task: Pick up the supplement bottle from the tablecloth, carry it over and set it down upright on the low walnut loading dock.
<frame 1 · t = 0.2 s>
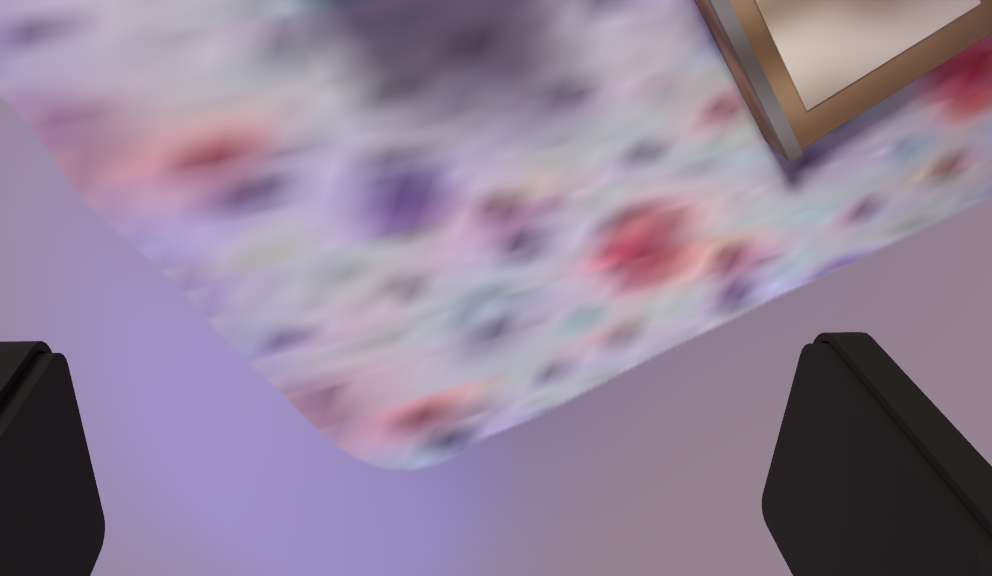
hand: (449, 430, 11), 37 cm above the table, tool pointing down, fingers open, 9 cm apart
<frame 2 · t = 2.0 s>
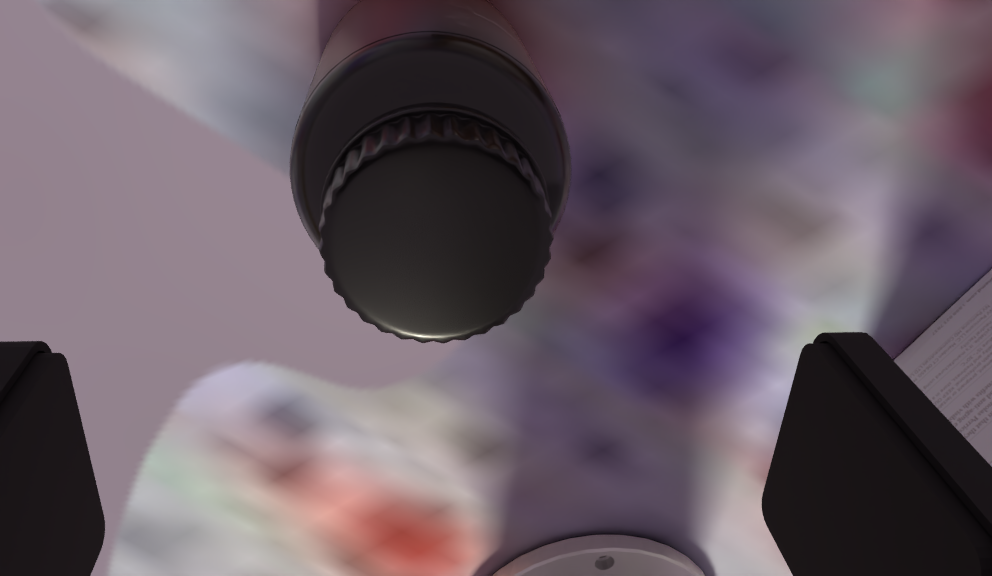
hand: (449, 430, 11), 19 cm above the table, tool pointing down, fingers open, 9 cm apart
supplement box: (985, 378, 36), on the table
supplement bottle: (425, 86, 27), on the table
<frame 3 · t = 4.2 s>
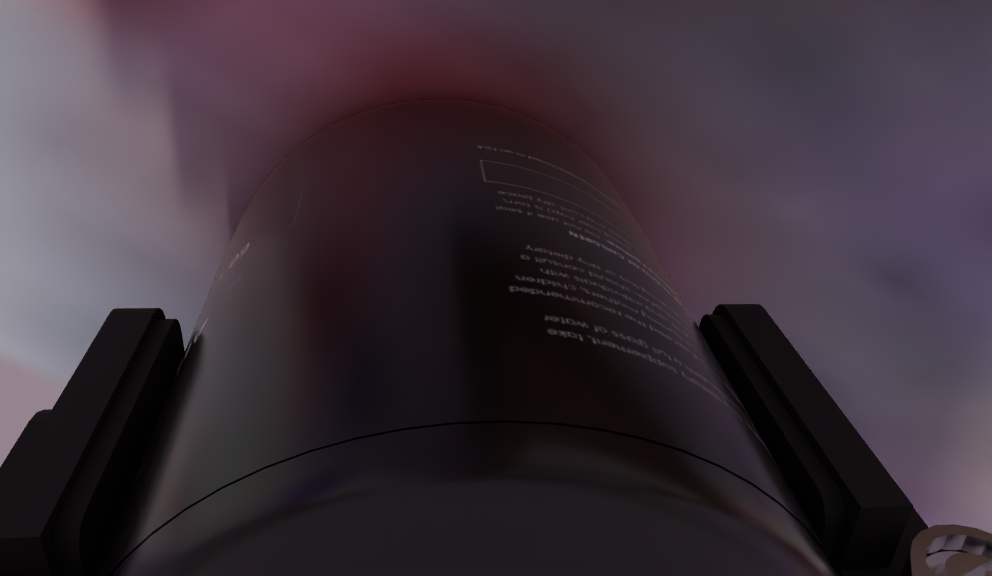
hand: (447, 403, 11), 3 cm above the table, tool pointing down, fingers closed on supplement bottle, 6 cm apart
supplement bottle: (438, 282, 14), on the table, touching gripper
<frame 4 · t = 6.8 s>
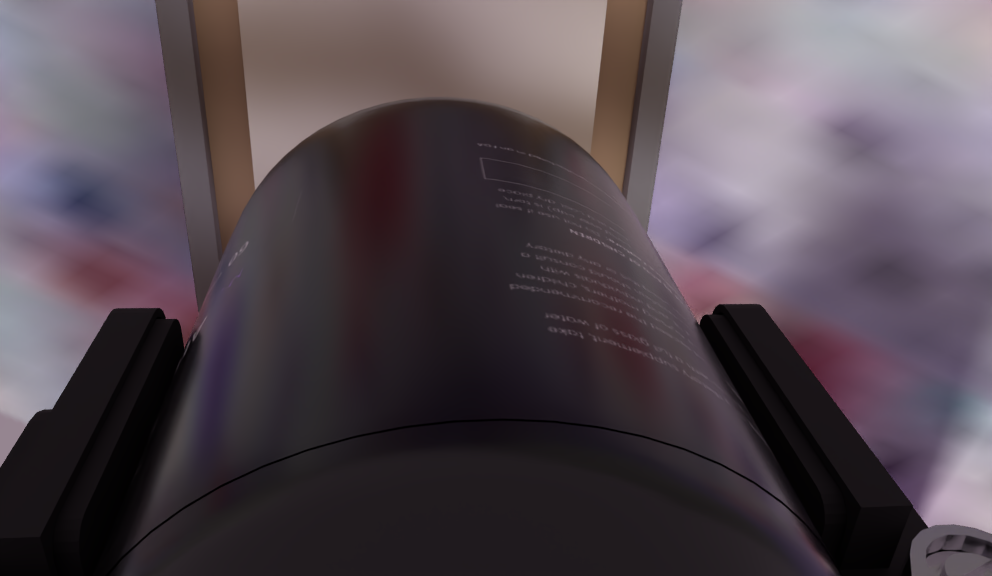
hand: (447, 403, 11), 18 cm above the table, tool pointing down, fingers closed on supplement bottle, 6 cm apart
dock: (422, 67, 27), on the table
supplement bottle: (437, 280, 14), point 14 cm above the table, touching gripper
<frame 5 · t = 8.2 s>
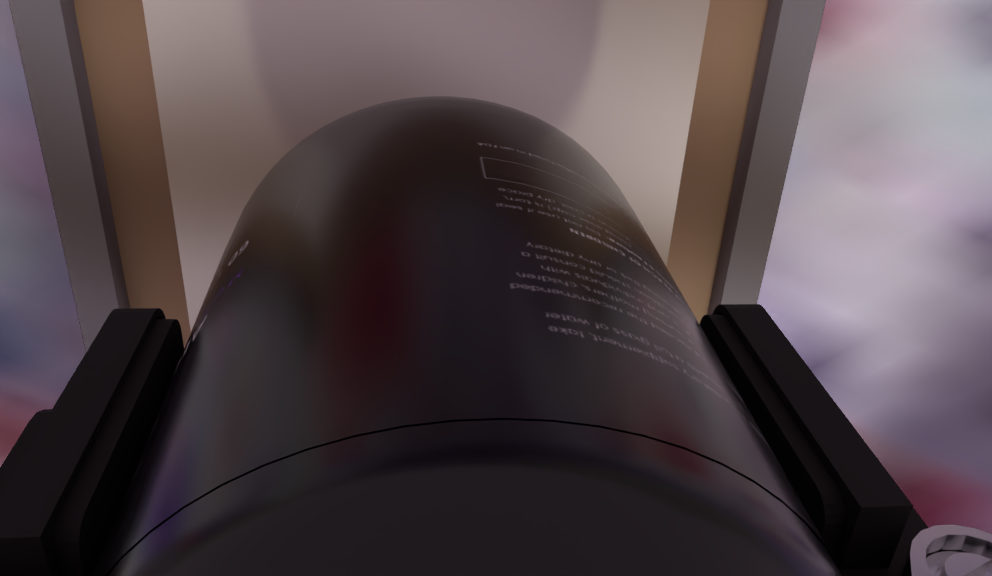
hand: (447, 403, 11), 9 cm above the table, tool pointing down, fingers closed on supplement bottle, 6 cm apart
dock: (427, 166, 19), on the table
supplement bottle: (438, 280, 14), point 6 cm above the table, touching gripper
when the fingers open (8 cm above the table, at t = 9.5 s): supplement bottle drops 1 cm, resting on dock.
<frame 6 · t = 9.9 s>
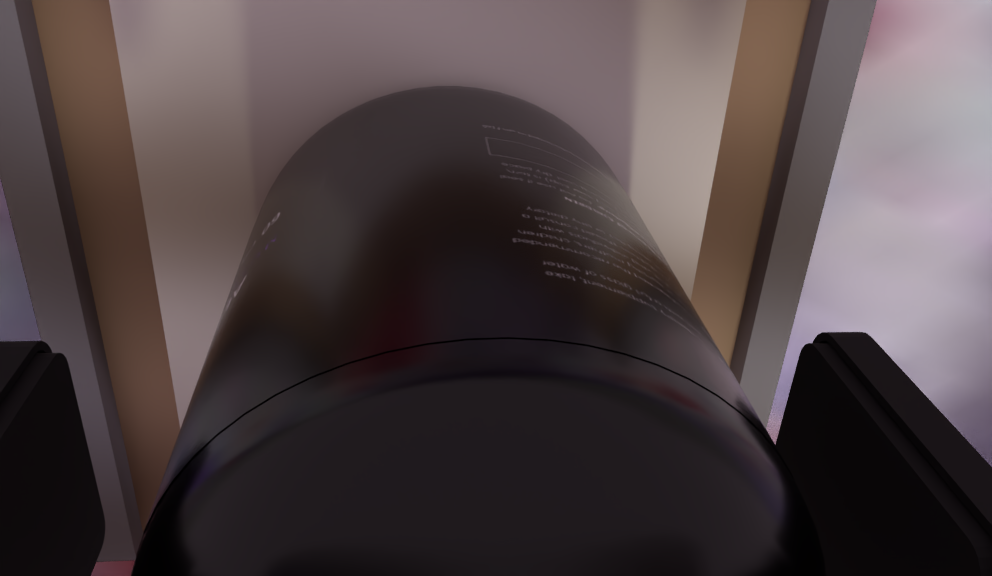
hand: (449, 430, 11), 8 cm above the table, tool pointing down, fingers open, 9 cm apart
dock: (429, 188, 18), on the table
supplement bottle: (445, 257, 15), point 3 cm above the table, touching dock
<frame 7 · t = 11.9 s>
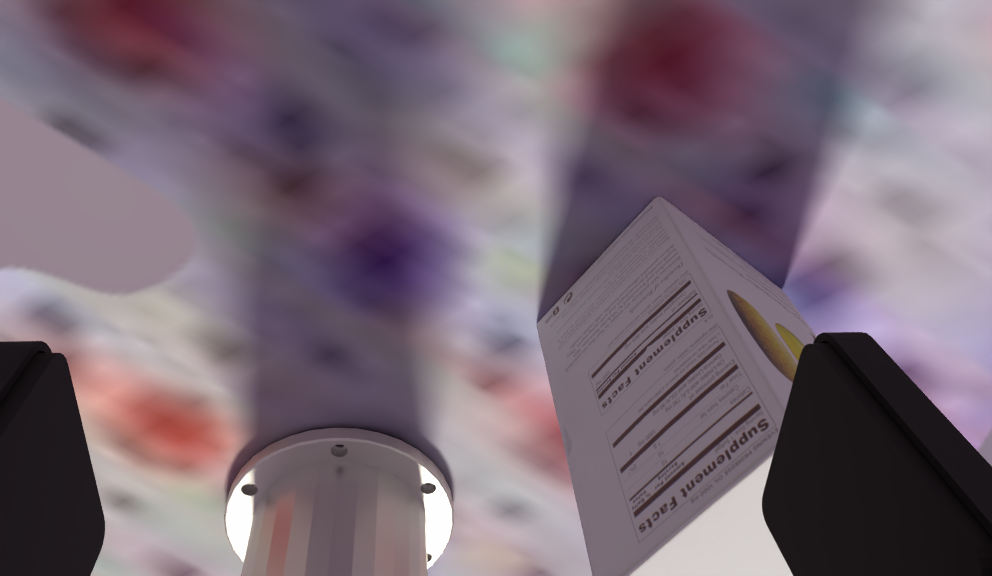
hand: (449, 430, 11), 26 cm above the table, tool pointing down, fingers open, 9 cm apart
supplement box: (657, 304, 42), on the table
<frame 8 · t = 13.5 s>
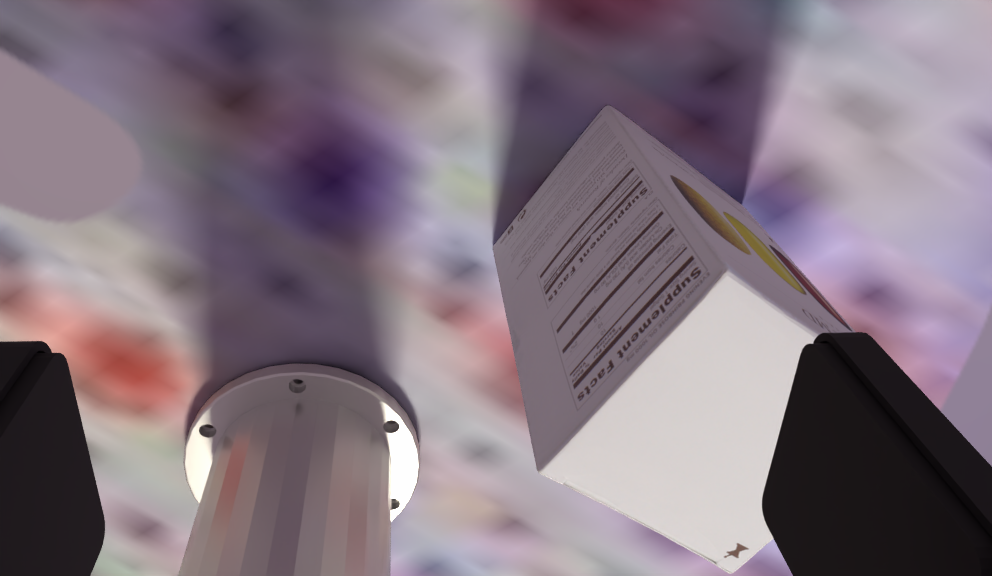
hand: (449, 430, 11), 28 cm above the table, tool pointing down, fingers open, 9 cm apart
supplement box: (615, 224, 42), on the table
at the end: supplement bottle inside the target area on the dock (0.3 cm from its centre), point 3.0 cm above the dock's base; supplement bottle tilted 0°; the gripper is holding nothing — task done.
